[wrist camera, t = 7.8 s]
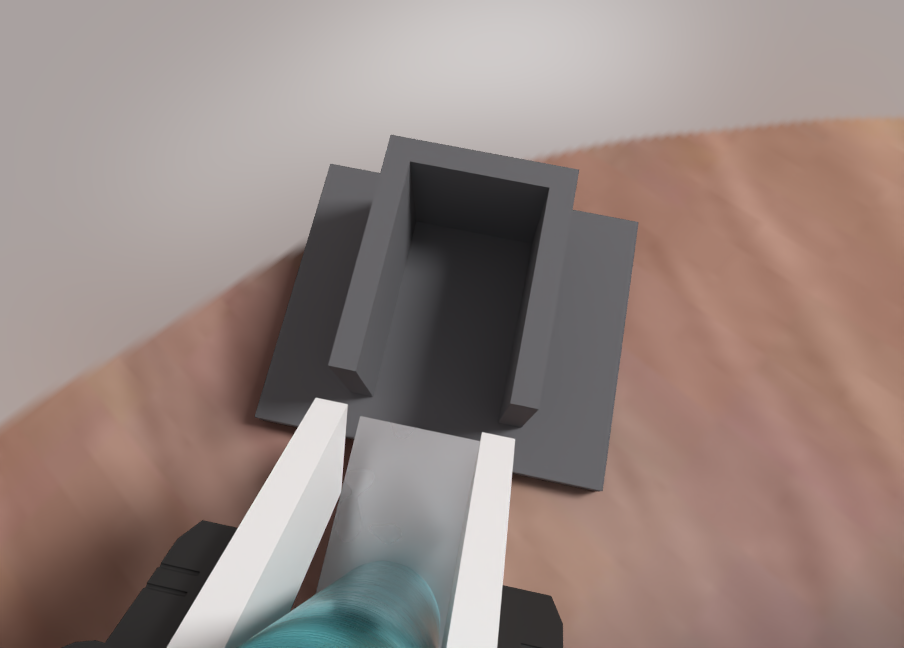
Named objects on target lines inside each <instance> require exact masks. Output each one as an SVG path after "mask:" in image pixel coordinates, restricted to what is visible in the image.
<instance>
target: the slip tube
mask: <svg viewBox="0 0 904 648" xmlns="http://www.w3.org/2000/svg"><path fill="white" fill-rule="evenodd" d="M479 444H480V441H476V440H472V439H467V438H462V437H457V436H453V435H448V434H443V433H438V432H434V431H429V430H424V429H420V428H415V427H410V426H405V425H401V424H396V423H391V422H386V421H382V420H377V419H372V418H368V417H363V416H360V419H359V423H358V427H357V431H356V435H355V439H354V443H353V447H352V451H351V455H350V459H349V463H348V467H347V471H346V475H345V479H344V483H343V487H342V491H341V495H340V499H339V503H338V507H337V511H336V515H335V519H334V523H333V527H332V531H331V535H330V539H329V543H328V547H327V551H326V555H325V559H324V562H323V566H322V570H321V574H320V578H319V582H318V586H317V590H316V594H315V595H314V596H313V597H311V598H310V599H308V600H307V601H305V602H304V603H302V604H301V605H299V606H298V607H296V608H295V609H293V610H292V611H290V612H289V613H287V614H286V615H284V616H283V617H281V618H280V619H278V620H277V621H276V622H274V623H273V624H271V625H270V626H268V627H267V628H265V629H264V630H262V631H261V632H259V633H258V634H256V635H255V636H253V637H252V638H250V639H249V640H247V641H246V642H244V643H243V644H241V645H240V646H238V647H237V648H441V647H442V641H443V636H444V630H445V624H446V618H447V613H448V607H449V601H450V595H451V589H452V584H453V578H454V572H455V566H456V560H457V555H458V549H459V543H460V537H461V531H462V526H463V520H464V515H465V510H466V505H467V501H468V496H469V491H470V487H471V482H472V477H473V472H474V468H475V463H476V458H477V454H478V449H479Z"/></svg>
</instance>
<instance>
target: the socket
mask: <svg viewBox="0 0 904 648" xmlns="http://www.w3.org/2000/svg"><path fill="white" fill-rule="evenodd" d="M578 174H579V170H577V169H572V168H567V167H561V166H556V165H550V164H545V163H540V162H534V161H529V160H524V159H518V158H513V157H508V156H502V155H497V154H491V153H485V152H481V151H475V150H470V149H464V148H459V147H453V146H449V145H443V144H438V143H432V142H427V141H422V140H416V139H411V138H405V137H400V136H395V135H391V136H390V140H389V144H388V147H387V151H386V154H385V158H384V162H383V166H382V169H381V173H376V172H371V171H366V170H361V169H355V168H350V167H345V166H340V165H334V164H330V167H329V171H328V174H327V177H326V181H325V184H324V187H323V191H322V194H321V197H320V200H319V204H318V208H317V211H316V214H315V217H314V220H313V224H312V227H311V230H310V234H309V237H308V240H307V244H306V247H305V250H304V254H303V257H302V260H301V264H300V267H299V270H298V274H297V277H296V280H295V284H294V287H293V290H292V294H291V297H290V300H289V304H288V307H287V310H286V314H285V317H284V320H283V324H282V327H281V330H280V334H279V337H278V340H277V344H276V347H275V350H274V354H273V357H272V360H271V364H270V367H269V370H268V374H267V377H266V380H265V384H264V387H263V390H262V394H261V397H260V400H259V404H258V407H257V410H256V414H255V417H256V418H259V419H261V420H265V421H269V422H274V423H279V424H283V425H288V426H293V427H297V428H298V427H299V425H300V423H301V421H302V420H303V418H304V416H305V415H306V413H307V411H308V410H309V408H310V406H311V405H312V403H313V401H314V400H315V398H320V399H325V400H330V401H334V402H339V403H344V404H348V408H347V422H346V435H345V438H349V439H353V440H354V439H355V435H356V431H357V427H358V423H359V419H360V416H363V417H368V418H372V419H377V420H382V421H386V422H391V423H396V424H401V425H405V426H410V427H415V428H420V429H424V430H429V431H434V432H438V433H443V434H448V435H453V436H457V437H462V438H467V439H472V440H476V441H480V439H481V435H482V432H484V433H489V434H494V435H499V436H503V437H508V438H513V439H515V447H514V459H513V470H512V473H513V474H517V475H522V476H527V477H531V478H536V479H541V480H545V481H550V482H555V483H560V484H564V485H569V486H574V487H578V488H583V489H588V490H592V491H603V484H604V476H605V469H606V461H607V454H608V446H609V439H610V431H611V424H612V416H613V409H614V401H615V394H616V386H617V379H618V371H619V364H620V356H621V349H622V341H623V334H624V326H625V319H626V311H627V304H628V296H629V289H630V282H631V274H632V267H633V259H634V252H635V244H636V237H637V229H638V222H635V221H629V220H624V219H619V218H613V217H608V216H603V215H598V214H592V213H587V212H582V211H577V210H572V209H573V203H574V197H575V191H576V185H577V180H578Z"/></svg>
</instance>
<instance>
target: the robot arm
mask: <svg viewBox="0 0 904 648" xmlns="http://www.w3.org/2000/svg"><path fill="white" fill-rule="evenodd" d="M347 408H348V404H344V403H339V402H334V401H330V400H325V399H320V398H315V400H314V401H313V403H312V405H311V406H310V408H309V410H308V411H307V413H306V415H305V416H304V418H303V420H302V421H301V423H300V425H299V427H298V428H297V430H296V432H295V433H294V435H293V437H292V438H291V440H290V442H289V443H288V445H287V447H286V448H285V450H284V452H283V453H282V455H281V457H280V458H279V460H278V462H277V463H276V465H275V467H274V468H273V470H272V472H271V473H270V475H269V477H268V478H267V480H266V482H265V484H264V485H263V487H262V489H261V490H260V492H259V494H258V495H257V497H256V499H255V500H254V502H253V504H252V505H251V507H250V509H249V510H248V512H247V514H246V515H245V517H244V519H243V520H242V522H241V524H240V525H239V527H238V528H235V527H231V526H226V525H222V524H217V523H213V522H208V521H204V520H202V521H201V522H199V523H198V524H197V525H195V526H194V527H193V528H191V529H190V530H189V531H187V532H186V533H185V534H183V535H182V536H181V537H179V538H178V539H177V540H176V542H175V543H174V545H173V546H172V548H171V549H170V550H169V552H168V553H167V555H166V556H165V558H164V559H163V561H162V562H161V565H160V567H159V568H157V569H156V571H155V572H154V573H153V575H152V576H151V578H150V579H149V581H148V582H147V586H146V587H145V588H143V589H142V591H141V592H140V594H139V595H138V596H137V598H136V599H135V601H134V602H133V604H132V605H131V606H130V608H129V609H128V611H127V612H126V614H125V615H124V617H123V618H122V619H121V621H120V622H119V624H118V625H117V627H116V628H115V629H114V631H113V632H112V634H111V635H110V637H109V638H108V639H107V641H106V642H105V643H103V642H99V641H96V640H94V641H83V642H74V643H72V644H69V645H67V646H64V647H62V648H237V647H238V646H240V645H241V644H243V643H244V642H246V641H247V640H249V639H250V638H252V637H253V636H255V635H256V634H258V633H259V632H261V631H262V630H264V629H265V628H267V627H268V626H270V625H271V624H273V623H274V622H276V621H277V620H278V619H280V618H281V617H283V616H284V615H286V614H287V613H289V612H290V610H291V608H292V605H293V603H294V601H295V598H296V596H297V594H298V591H299V589H300V587H301V584H302V582H303V580H304V577H305V575H306V573H307V570H308V568H309V566H310V563H311V561H312V559H313V556H314V554H315V552H316V549H317V547H318V545H319V542H320V540H321V538H322V536H323V533H324V531H325V529H326V526H327V524H328V522H329V519H330V517H331V515H332V512H333V510H334V508H335V505H336V503H337V501H338V498H339V496H340V494H341V488H342V475H343V462H344V448H345V435H346V422H347ZM514 447H515V439H513V438H508V437H503V436H499V435H494V434H489V433H484V432H482V435H481V439H480V444H479V449H478V454H477V458H476V463H475V468H474V472H473V477H472V482H471V487H470V491H469V496H468V501H467V505H466V510H465V515H464V520H463V526H462V531H461V537H460V543H459V549H458V555H457V560H456V566H455V572H454V578H453V584H452V589H451V595H450V601H449V607H448V613H447V618H446V624H445V630H444V636H443V641H442V647H441V648H563V623H562V621H561V618H560V616H559V614H558V611H557V609H556V606H555V604H554V602H553V599H552V597H551V596H549V595H544V594H540V593H535V592H531V591H526V590H522V589H517V588H513V587H508V586H504V585H503V574H504V563H505V551H506V540H507V528H508V516H509V505H510V493H511V482H512V470H513V459H514Z"/></svg>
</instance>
